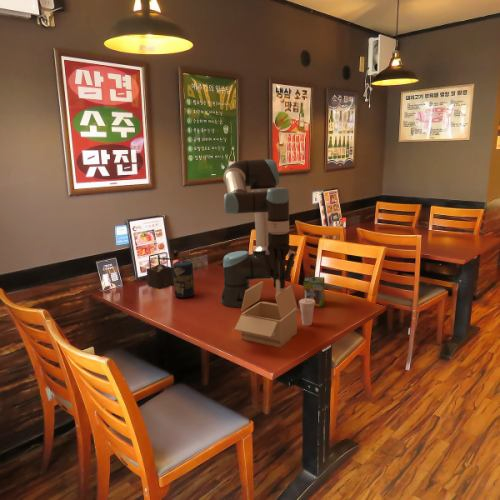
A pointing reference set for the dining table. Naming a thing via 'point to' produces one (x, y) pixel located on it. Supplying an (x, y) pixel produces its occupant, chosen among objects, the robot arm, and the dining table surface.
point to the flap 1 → (252, 295)
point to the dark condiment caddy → (161, 273)
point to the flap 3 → (285, 301)
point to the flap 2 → (256, 326)
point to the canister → (183, 278)
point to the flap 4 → (276, 304)
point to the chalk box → (315, 289)
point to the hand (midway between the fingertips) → (279, 296)
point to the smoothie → (307, 310)
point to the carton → (270, 312)
